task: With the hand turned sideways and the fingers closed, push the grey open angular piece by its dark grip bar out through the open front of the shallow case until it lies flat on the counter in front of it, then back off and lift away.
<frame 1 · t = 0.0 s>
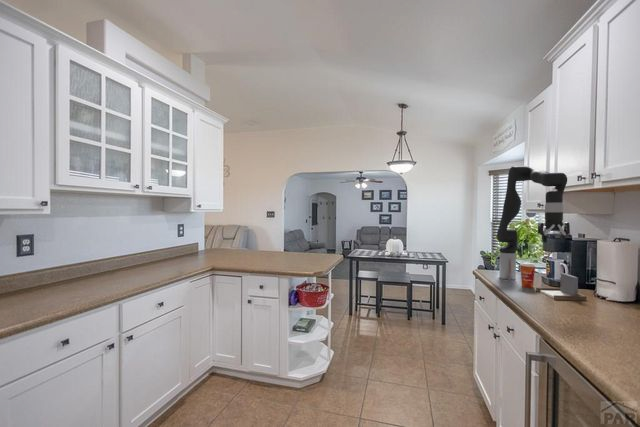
hand: (553, 242, 158), 29 cm above the worktop, tool pointing down, fingers open, 8 cm apart
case: (558, 295, 164), on the worktop
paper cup: (527, 286, 183), on the worktop
grey open angular piece: (558, 285, 164), in the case
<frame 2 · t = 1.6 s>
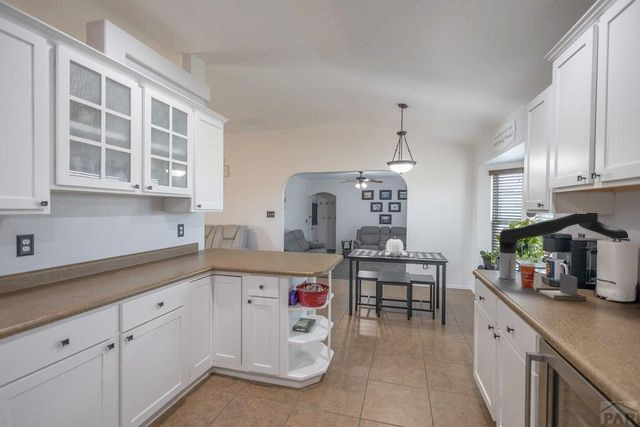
hand: (584, 250, 162), 24 cm above the worktop, tool horizontal, fingers open, 7 cm apart
nothing on the worktop moved.
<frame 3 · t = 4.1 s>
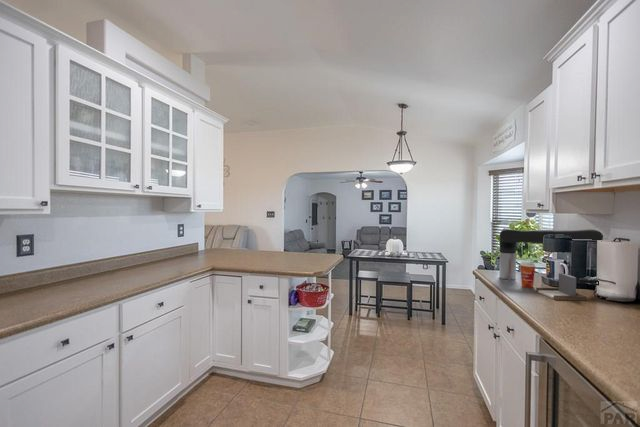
hand: (579, 280, 163), 8 cm above the worktop, tool horizontal, fingers closed
nothing on the worktop moved.
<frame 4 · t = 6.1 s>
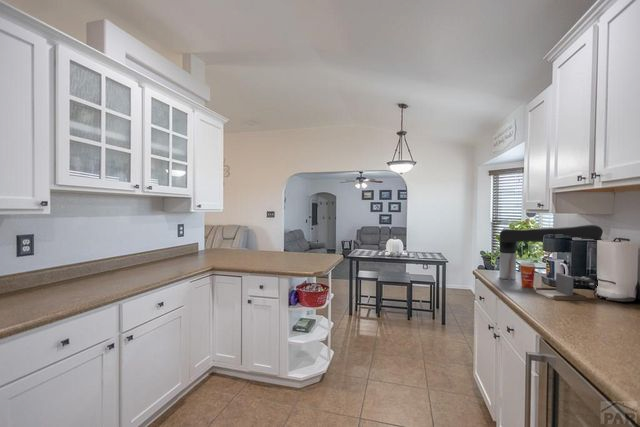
hand: (566, 280, 164), 8 cm above the worktop, tool horizontal, fingers closed
grey open angular piece: (554, 285, 164), in the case, touching gripper
everything else where it was.
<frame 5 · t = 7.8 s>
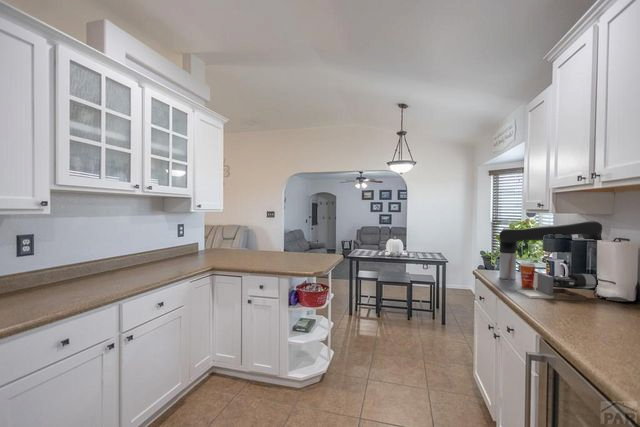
hand: (547, 280, 165), 8 cm above the worktop, tool horizontal, fingers closed
grey open angular piece: (535, 284, 165), on the worktop, touching gripper
everything else where it was.
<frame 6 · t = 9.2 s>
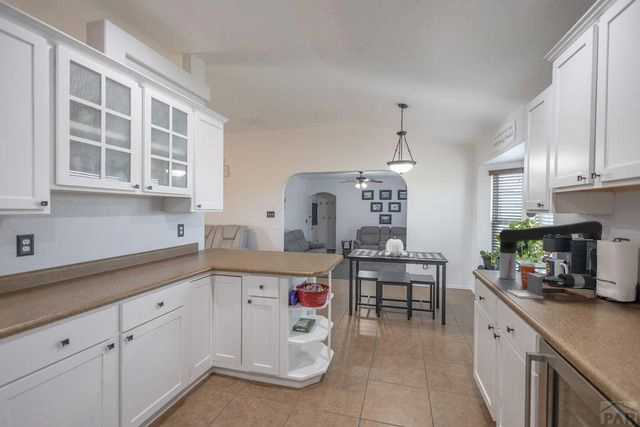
hand: (536, 280, 165), 8 cm above the worktop, tool horizontal, fingers closed
grey open angular piece: (524, 284, 166), on the worktop, touching gripper
everything else where it was.
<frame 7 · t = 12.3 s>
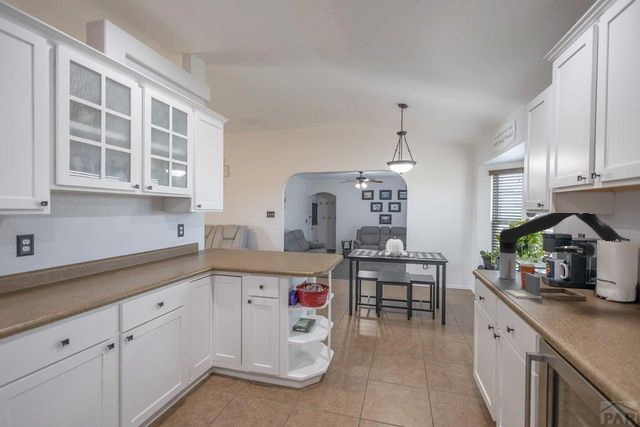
hand: (555, 249, 164), 25 cm above the worktop, tool horizontal, fingers closed
grey open angular piece: (522, 284, 166), on the worktop
everything else where it was.
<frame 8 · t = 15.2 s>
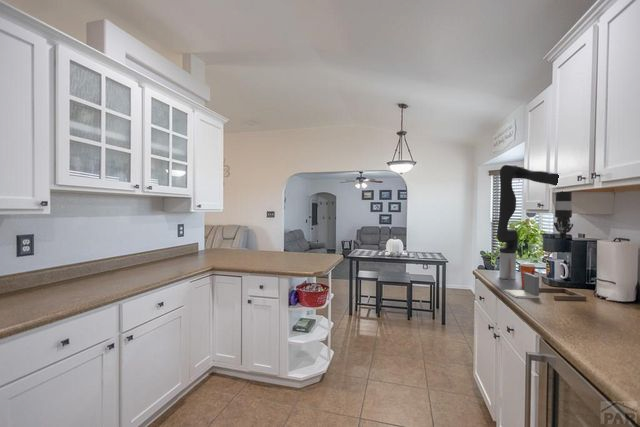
hand: (563, 239, 174), 29 cm above the worktop, tool pointing down, fingers closed
nothing on the worktop moved.
at the end: grey open angular piece inside the target area (0.8 cm from its centre), on the worktop; grey open angular piece tilted 0°; the gripper is holding nothing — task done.
